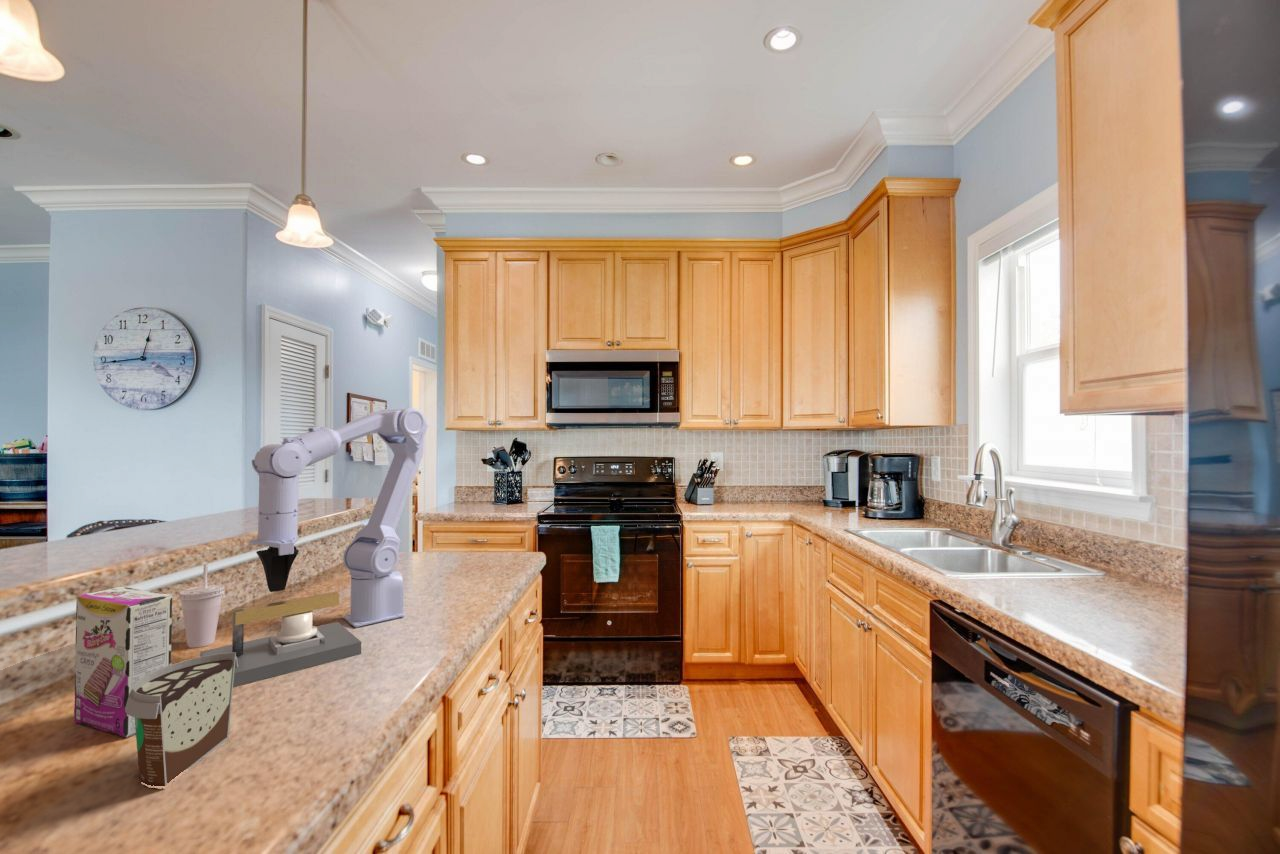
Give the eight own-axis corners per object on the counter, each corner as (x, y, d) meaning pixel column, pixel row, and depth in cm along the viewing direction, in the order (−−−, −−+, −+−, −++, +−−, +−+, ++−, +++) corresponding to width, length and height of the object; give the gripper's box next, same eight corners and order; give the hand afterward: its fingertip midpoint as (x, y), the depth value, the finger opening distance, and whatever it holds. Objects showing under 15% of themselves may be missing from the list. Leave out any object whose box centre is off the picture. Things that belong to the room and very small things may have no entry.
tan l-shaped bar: (335, 630, 93) (336, 591, 94) (338, 633, 92) (339, 593, 92) (231, 654, 83) (232, 610, 83) (233, 658, 82) (234, 612, 82)
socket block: (337, 632, 99) (337, 616, 99) (361, 653, 89) (361, 635, 89) (200, 663, 85) (200, 645, 85) (209, 693, 75) (210, 672, 75)
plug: (312, 634, 92) (312, 606, 93) (320, 643, 88) (321, 613, 89) (272, 643, 88) (273, 613, 89) (279, 653, 84) (280, 621, 84)
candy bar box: (69, 724, 67) (73, 595, 67) (119, 706, 71) (122, 585, 72) (123, 740, 63) (127, 603, 64) (172, 720, 68) (175, 592, 68)
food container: (184, 734, 64) (186, 652, 65) (236, 731, 65) (238, 650, 65) (87, 802, 52) (90, 701, 53) (153, 798, 53) (156, 698, 53)
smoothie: (233, 637, 96) (234, 561, 97) (200, 651, 90) (202, 569, 90) (201, 636, 97) (203, 560, 97) (167, 650, 91) (168, 569, 91)
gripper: (243, 510, 94) (241, 586, 94) (257, 518, 84) (256, 604, 83) (289, 507, 99) (288, 579, 98) (308, 514, 89) (307, 595, 88)
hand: (276, 590), depth 91 cm, fingers closed
